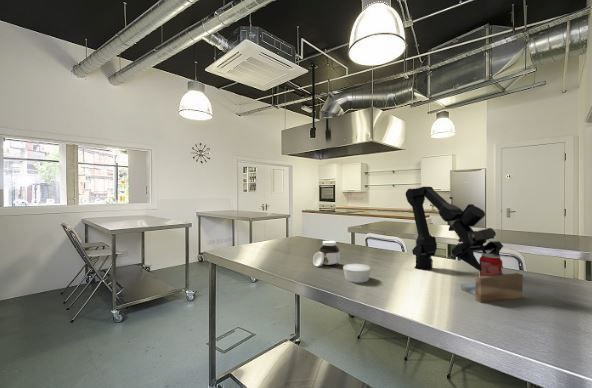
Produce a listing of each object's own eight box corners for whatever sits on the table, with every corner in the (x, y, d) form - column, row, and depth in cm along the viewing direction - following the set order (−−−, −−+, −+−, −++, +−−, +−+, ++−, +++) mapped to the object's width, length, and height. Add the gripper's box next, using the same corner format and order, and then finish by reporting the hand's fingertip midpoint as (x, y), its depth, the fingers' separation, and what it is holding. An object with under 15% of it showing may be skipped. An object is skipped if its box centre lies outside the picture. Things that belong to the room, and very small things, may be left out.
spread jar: (341, 264, 137) (341, 241, 137) (332, 270, 128) (332, 245, 128) (320, 261, 144) (320, 239, 144) (310, 266, 134) (310, 242, 134)
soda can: (501, 293, 94) (502, 258, 94) (478, 288, 98) (478, 255, 98) (502, 287, 99) (502, 255, 99) (480, 283, 103) (480, 252, 103)
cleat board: (453, 290, 102) (453, 268, 102) (491, 286, 106) (492, 265, 106) (480, 302, 91) (480, 278, 91) (522, 297, 95) (522, 274, 95)
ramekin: (338, 279, 114) (338, 267, 114) (352, 273, 122) (352, 262, 122) (362, 286, 107) (362, 272, 107) (375, 279, 115) (375, 266, 115)
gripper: (457, 221, 99) (485, 258, 89) (498, 220, 104) (529, 255, 93) (441, 239, 107) (464, 275, 97) (480, 237, 112) (506, 271, 101)
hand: (491, 269), depth 97 cm, fingers open, 9 cm apart
